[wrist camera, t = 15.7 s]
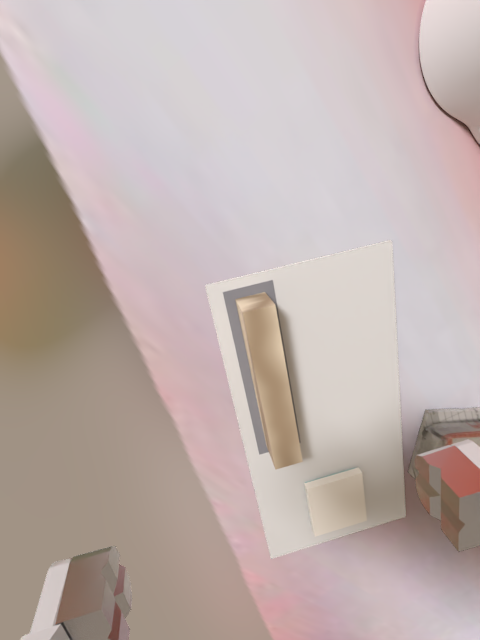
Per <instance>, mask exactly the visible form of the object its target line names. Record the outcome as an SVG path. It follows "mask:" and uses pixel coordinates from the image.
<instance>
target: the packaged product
mask: <svg viewBox="0 0 480 640" xmlns="http://www.w3.org/2000/svg"><path fill="white" fill-rule="evenodd" d="M467 439H469V440H471V441H473V442H474V443H476V444H477V445H478V446H479V447H480V407H476V408H475V407H473V408H464V409H431V410H425V413H424V416H423V420H422V423H421V426H420V430H419V433H418V437H417V440H416V444H415V448H414V451H413V454H412V458H411V462H410V465H409V469H408V473H409V474H410V475H411V476H412V477H413V478H414V479H416V477H417V476H418V474H419V471H418V470H417V469H416V468H415V457H416V455H418V454H422V453H425V452H428V451H431V450H434V449H438V448H441V447H444V446H447V445H451V444H454V443H457V442H461V441H464V440H467Z"/></svg>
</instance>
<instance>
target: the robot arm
mask: <svg viewBox="0 0 480 640" xmlns="http://www.w3.org/2000/svg"><path fill="white" fill-rule="evenodd" d="M419 54H420V62H421V68H422V72H423V75H424V79H425V81H426V84H427V86H428V89H429V91H430V92H431V94H432V96H433V97H434V99H435V100H436V102H437V103H438V104H439V105H440V106H441V107H442V108H443V110H445V111H446V112H447V113H448V114H450V115H451V116H453V117H454V118H456V119H458V120H460V121H461V122H463V123H464V124H466V125H467V126H468V127H469V129H470V131H471V132H472V134H473V136H474V137H475V139H476V140H477V142H478V143H479V144H480V0H426V2H425V6H424V9H423V14H422V18H421V24H420V34H419ZM415 468H416V469H417V470H418V471H419V474H418V476H417V477H416V479H415V483H416V491H417V493H418V496H419V499H420V501H421V503H422V505H423V506H424V508H425V509H426V511H427V512H428V513H429V515H431V516H433V517H435V518H437V519H439V520H441V530H442V531H443V533H444V534H445V535H446V537H447V538H448V539H449V540H450V542H451V543H452V544H453V545H454V547H455V548H456V549H457V551H458V552H460V551H463V550H467V549H470V548H473V547H477V546H480V447H479V446H478V445H477V444H476V443H474V442H473V441H471V440H469V439H467V440H464V441H461V442H457V443H454V444H451V445H447V446H444V447H441V448H438V449H434V450H431V451H428V452H425V453H422V454H418V455H416V457H415ZM119 561H120V554H119V552H118V550H117V548H116V546H111V547H108V548H104V549H100V550H97V551H93V552H89V553H85V554H82V555H78V556H74V557H72V558H68V559H64V560H61V561H57V562H54V563H52V565H51V566H50V568H49V570H48V573H47V576H46V580H45V583H44V586H43V590H42V593H41V596H40V600H39V603H38V607H37V610H36V614H35V617H34V620H33V624H32V627H31V631H30V633H29V634H26V635H23V637H22V638H21V639H20V640H129V630H130V628H129V626H128V624H127V622H126V620H125V618H126V617H127V615H128V613H129V612H130V610H131V601H132V593H131V583H130V579H129V575H128V572H127V570H126V568H125V567H124V566H121V565H120V564H119Z"/></svg>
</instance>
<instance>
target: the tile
mask: <svg viewBox="0 0 480 640" xmlns="http://www.w3.org/2000/svg"><path fill="white" fill-rule="evenodd" d="M304 486H305V491H306V497H307V503H308V509H309V514H310V520H311V526H312V531H313V533H314V536H315V537H316V536H319V535H322V534H325V533H329V532H332V531H335V530H338V529H342V528H345V527H348V526H351V525H355V524H358V523H361V522H364V521H367V516H366V506H365V496H364V486H363V476H362V472H361V470H360V469H359V467H357V468H352V469H349V470H345V471H342V472H339V473H335V474H332V475H328V476H325V477H322V478H318V479H315V480H312V481H308V482H305V483H304Z"/></svg>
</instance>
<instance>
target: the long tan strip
mask: <svg viewBox="0 0 480 640" xmlns="http://www.w3.org/2000/svg"><path fill="white" fill-rule="evenodd" d="M235 301H236V306H237V310H238V315H239V320H240V324H241V329H242V334H243V338H244V343H245V348H246V352H247V357H248V362H249V366H250V371H251V376H252V380H253V385H254V390H255V394H256V399H257V404H258V408H259V413H260V418H261V422H262V427H263V432H264V436H265V441H266V446H267V448H268V451H269V454H270V456H271V459H272V462H273V464H274V467H275V470H276V469H280V468H283V467H287V466H290V465H293V464H297V463H300V462H303V461H302V455H301V449H300V443H299V437H298V432H297V426H296V420H295V414H294V409H293V403H292V397H291V391H290V386H289V380H288V374H287V368H286V363H285V357H284V351H283V345H282V340H281V334H280V328H279V322H278V317H277V311H276V305H275V304H274V302H273V301H272V300H271V299H270V298H269V296H268V295H267V294H266V293H265V292H263V293H259V294H254V295H250V296H246V297H242V298H238V299H235Z"/></svg>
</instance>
